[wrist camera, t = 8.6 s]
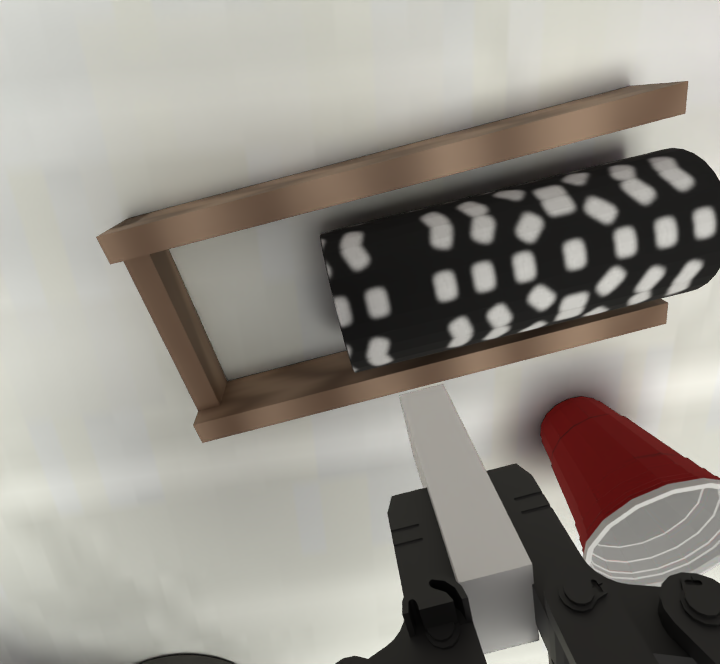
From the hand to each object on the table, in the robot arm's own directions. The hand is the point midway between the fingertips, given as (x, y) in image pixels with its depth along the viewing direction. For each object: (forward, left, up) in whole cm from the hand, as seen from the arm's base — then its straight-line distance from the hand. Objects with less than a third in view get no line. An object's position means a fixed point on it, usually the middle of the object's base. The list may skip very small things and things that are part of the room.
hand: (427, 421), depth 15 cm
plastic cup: (+14, -18, -17) cm, 28 cm away
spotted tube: (-3, 0, -12) cm, 13 cm away
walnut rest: (+2, 0, -17) cm, 17 cm away
